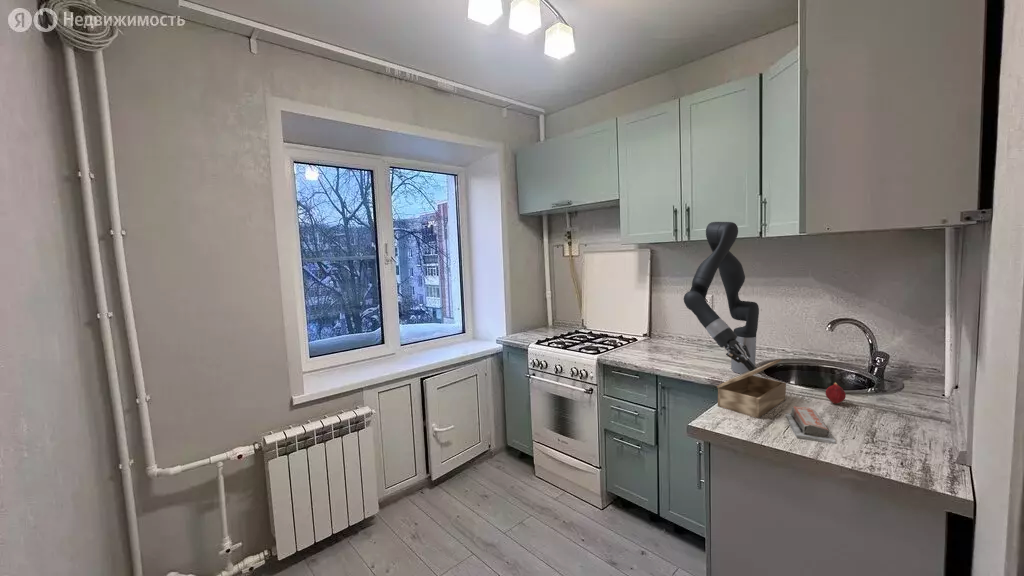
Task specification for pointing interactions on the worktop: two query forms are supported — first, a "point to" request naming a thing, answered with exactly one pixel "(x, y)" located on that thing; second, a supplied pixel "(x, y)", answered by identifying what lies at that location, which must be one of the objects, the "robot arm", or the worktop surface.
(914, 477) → the worktop surface
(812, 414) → the packaged product
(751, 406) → the carton
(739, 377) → the carton lid
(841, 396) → the onion
